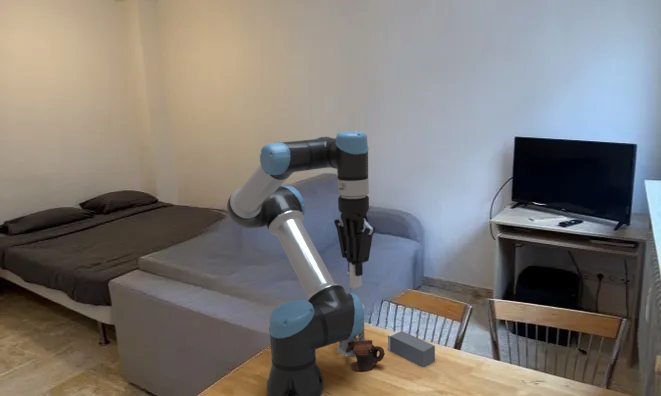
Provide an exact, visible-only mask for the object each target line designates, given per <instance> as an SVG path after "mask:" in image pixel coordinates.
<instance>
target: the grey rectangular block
mask: <svg viewBox="0 0 661 396" xmlns="http://www.w3.org/2000/svg"><path fill="white" fill-rule="evenodd" d="M387 350H388V351H389V352H391V353H394V354H395V355H397V356H399V357H401V358H403V359H405V360H407V361H409V362H411V363H414V364H415V365H417V366H420V367H421V368H426V367H427V366H429V365H430V364H433V363H434V362H436V353H435V352H436V345H434V344H432V343H430V342H428V341H425V340H423V339H421V338H419V337H417V336H416V337H415V336H414V335H411V334H410V333H407V332H405V331H402V330H400V329H398V330H395V331H394V332H391V333H389V334H388V335H387Z"/></svg>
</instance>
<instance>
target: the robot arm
mask: <svg viewBox="0 0 661 396" xmlns="http://www.w3.org/2000/svg"><path fill="white" fill-rule="evenodd" d="M259 163H260V164H259V165H258V167H257V168H256V170H254V172H253V173H252V174H251V176H250V177H249V178H248V179H247V180H246V182H245V183H244V184H243V185H242V186H241V187H239V188H236V189H235V190H234V191H233V192H232V193H231V195H230V196H229V198H228V200H227V203H226V204H227V205H226V209H227V214H228V216H229V218H230V219H231V220H232V222H233V223H235V225H237V226H240V227H241V228H244V229H245V228H246V229H258V228H264V227H267V230H268V231H269V233H270V234H271V235H273V236H276V237H277V239H278V240H279V241H278V242H280V245H281V247H282V249H283V250H284V253H285V255H286V256H287V258H288V260H289V263H290V264H291V266H292V269H293V270H294V272H295V275H296V276H297V278H298V280H299V282H300V285H301V287H302V288H303V290H304V292H305V294H306V295H307V296H306V297H307V300H302V299H298V300H291V301H286V302H283V303H282V304H280V305H278V306H277V307H276V308H274V309H273V310H272V312H271V313H270V316H269V326H268V332H269V341H270V352H271V367H270V369H269V376H268V378H267V382H266V392H267V396H321V395H322V394H323V393H324V389H325V387H324V378H323V375H322V373H321V371H320V368H319V365H318V362H317V359H316V353H317V352H316V350H318V349H321V348H323V347H327V346H330V345H333V344H336V343H340V341H343V340H348V339H349V338H351V337H354V336H356V335H358V334H359V333H360V332H361V330H362V328H363V325H364V326H365V311H364V310H365V309H363V306H362V304H363V303H362V301H361V299H360V297H359V296H358V295H357V294H356V293H353V292H351V293H350V292H349V293H347V292H346V290H345V288H344V286H343V285H342V284H340V283H335V282H334V279H333V277H332V276H331V273H330V272H329V270H328V268H327V266H326V265H325V263H324V260H323V259H322V257H321V255H320V254H319V251H318V250H317V248H316V247H315V244H314V243H313V241H312V239H311V237H310V235H309V233H308V232H307V230H306V228H305V225H304V223H303V221H304V219H305V217H304V216H305V212H306V207H305V204H304V199H303V197H302V195H301V193H300V192H299V191H298V189H296V188H295V187H293V186H291V185H284V186H283V184H284V183H285V182H286V181H287V179H288V178H290V176H291V175H293V174H294V173H298V172H305V171H306V172H307V171H313V170H320V169H330V168H331V169H336V171H337V172H336V174H337V177H336V178H337V193H338V195H339V196H338V198H337V201H338V202H337V205H338V207H337V208H338V211H339V212H340V217H339V218H338V219H334V221H333V223H334V225H335V227H336V232H337V237H338V240H339V241H338V242H339V247H340V252H341V257H342V258H343V259H344V258H345V259H346V262H347V272H349V273H350V276H349V288H350V287H351V289H354V290H355V289H357V288H360V287H363V284H362V283H363V282H362V281H363V279H362V276H363V274H364V273H363V271H364V270H363V268H364V267H363V264H364V263H366V262H369V260H370V254H371V248H372V242H373V236H374V234H375V231H376V226H374V225H373V226H371V225H370V223H369V219H368V216H367V213H368V212H369V210H370V197H369V196H368V195H369V194H370V189H369V188H370V187H369V186H370V185H369V146H368V135H367V134H366V132H364V131H360V130H359V131H358V130H357V131H354V130H353V131H351V130H349V131H340V132H338V133H337V134H336V135H335V138H334V137H330V136H319V137H315V138H313V139H304V140H293V141H282V142H281V141H278V142H276V141H275V142H273V143H268V144H265V145H263V146H262V147H261V149H260V154H259ZM356 337H357V336H356Z"/></svg>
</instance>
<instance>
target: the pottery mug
mask: <svg viewBox="0 0 661 396" xmlns="http://www.w3.org/2000/svg"><path fill="white" fill-rule="evenodd" d="M351 350H352V351H353V354H355V355H356V356H355V359H356V361H353V362H351V364H350V365H351V367H352V371H371V370H372V369H373V365H374V366H376V365H377V364H378V362H381V361H383V359H384V358H385V357H384V356H385V354H386V353H385V350H384V348H383V346H382V347H381V346H378V345H377V346H375V345H374V344H373V340H372V339H365V340H361V341H352V342H348V347H347V349H346V352H345V353H347V352H348V353H349V352H350V351H351ZM378 352H379V353H378ZM378 354H379V355H378Z"/></svg>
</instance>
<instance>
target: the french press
mask: <svg viewBox="0 0 661 396" xmlns="http://www.w3.org/2000/svg"><path fill="white" fill-rule="evenodd" d="M346 275H347V276H348V277H350V273H349V271H347V272H346ZM349 289H350V290H349V293H352V288H351V287H350V286H349ZM362 306H363V310H365V304H363V303H362ZM365 333H366V332H365V324H364V325H363V328H362V330H361V332H360V333H359V334H358V335H356V336H354V337H351V338H349V339H348V340H343V341H340V342H339V344H338V345H337V346H338V347H337V346H336V351H338V352H337V353H339V354H340V355H342V354H343V356H345V355H347V356H346V357H356V355H355V354H353V351H352V350H351V351H350V352H349V353H348V352H347V353H345V352H346V349H347V347H348V342H352V341H361V340H366V339H365V335H366V334H365ZM357 336H358V337H357Z"/></svg>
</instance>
